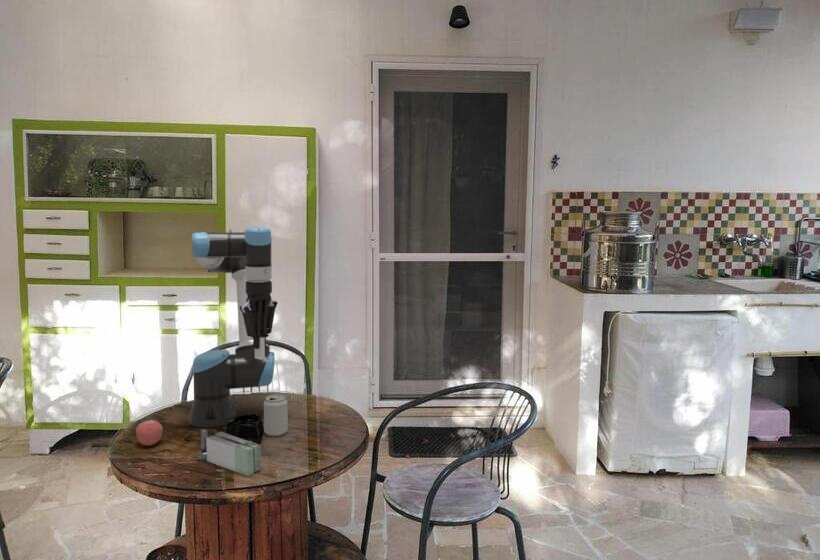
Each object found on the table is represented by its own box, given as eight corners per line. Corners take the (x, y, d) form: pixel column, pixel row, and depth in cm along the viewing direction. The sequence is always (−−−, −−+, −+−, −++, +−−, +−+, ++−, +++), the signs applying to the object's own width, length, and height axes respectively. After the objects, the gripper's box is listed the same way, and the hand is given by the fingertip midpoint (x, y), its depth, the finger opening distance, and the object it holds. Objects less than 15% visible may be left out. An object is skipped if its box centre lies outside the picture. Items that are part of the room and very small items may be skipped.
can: (262, 430, 200) (261, 394, 198) (285, 427, 203) (284, 392, 201) (266, 438, 193) (265, 401, 192) (290, 435, 196) (289, 398, 195)
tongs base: (194, 458, 177) (193, 430, 176) (206, 454, 180) (205, 426, 179) (244, 477, 165) (244, 447, 164) (256, 472, 169) (255, 442, 168)
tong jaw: (215, 456, 178) (214, 433, 177) (221, 454, 180) (220, 431, 179) (254, 472, 168) (254, 447, 167) (260, 469, 170) (260, 445, 169)
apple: (150, 438, 192) (150, 413, 191) (168, 442, 189) (167, 417, 188) (130, 446, 185) (129, 420, 185) (148, 451, 182) (147, 424, 181)
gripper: (250, 284, 173) (251, 365, 177) (283, 279, 184) (284, 356, 187) (232, 281, 177) (234, 361, 181) (266, 277, 188) (267, 352, 191)
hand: (259, 358), depth 184 cm, fingers closed
